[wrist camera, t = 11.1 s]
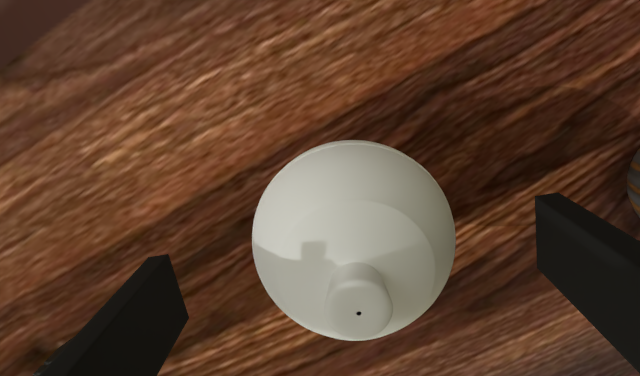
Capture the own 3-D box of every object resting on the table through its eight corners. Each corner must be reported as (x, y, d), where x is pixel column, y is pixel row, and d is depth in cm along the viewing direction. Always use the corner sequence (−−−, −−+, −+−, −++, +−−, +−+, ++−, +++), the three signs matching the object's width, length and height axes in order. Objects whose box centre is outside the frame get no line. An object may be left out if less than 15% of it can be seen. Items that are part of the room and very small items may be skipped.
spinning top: (308, 263, 24) (284, 447, 13) (255, 143, 22) (172, 238, 11) (433, 221, 23) (529, 382, 12) (391, 92, 21) (458, 135, 10)
